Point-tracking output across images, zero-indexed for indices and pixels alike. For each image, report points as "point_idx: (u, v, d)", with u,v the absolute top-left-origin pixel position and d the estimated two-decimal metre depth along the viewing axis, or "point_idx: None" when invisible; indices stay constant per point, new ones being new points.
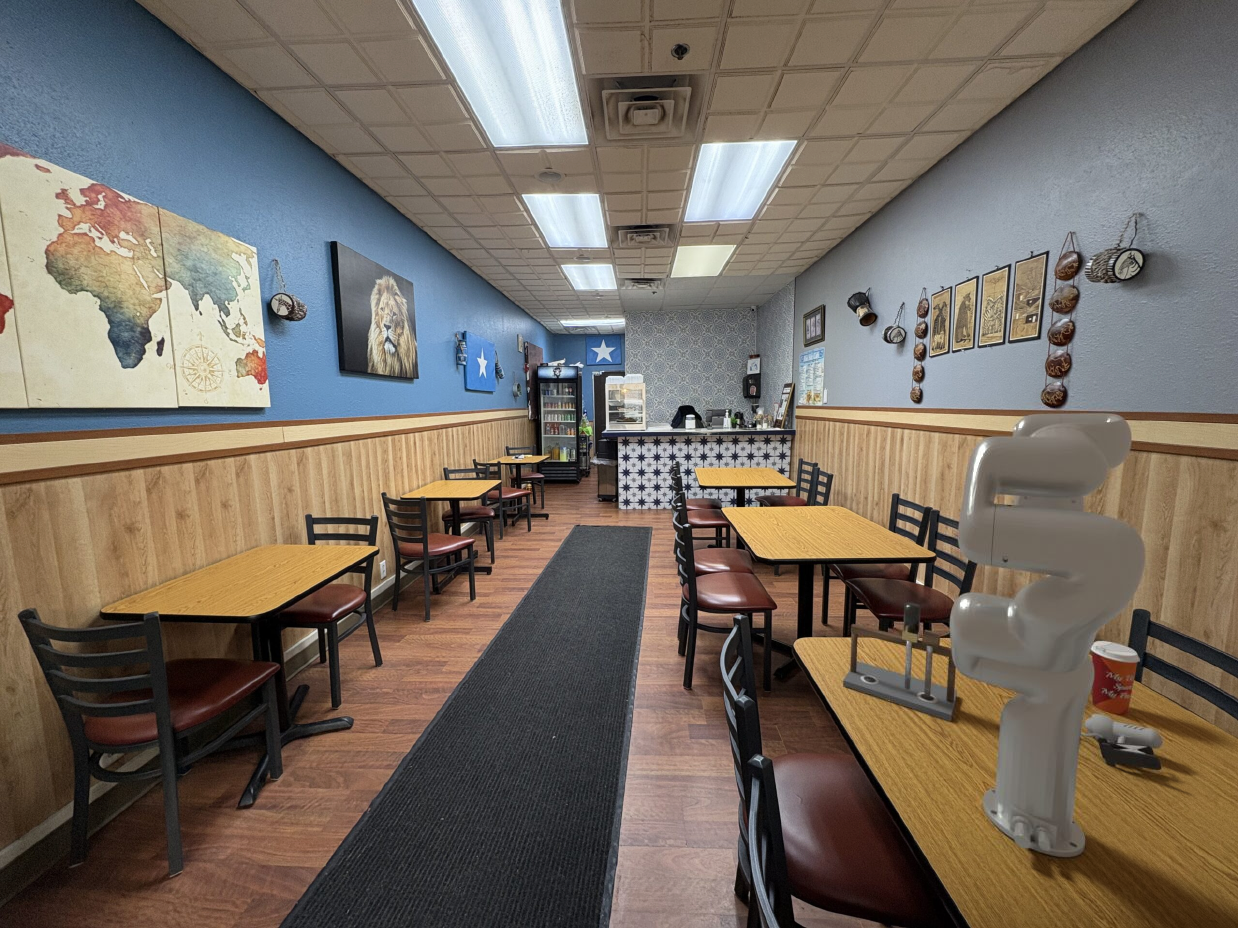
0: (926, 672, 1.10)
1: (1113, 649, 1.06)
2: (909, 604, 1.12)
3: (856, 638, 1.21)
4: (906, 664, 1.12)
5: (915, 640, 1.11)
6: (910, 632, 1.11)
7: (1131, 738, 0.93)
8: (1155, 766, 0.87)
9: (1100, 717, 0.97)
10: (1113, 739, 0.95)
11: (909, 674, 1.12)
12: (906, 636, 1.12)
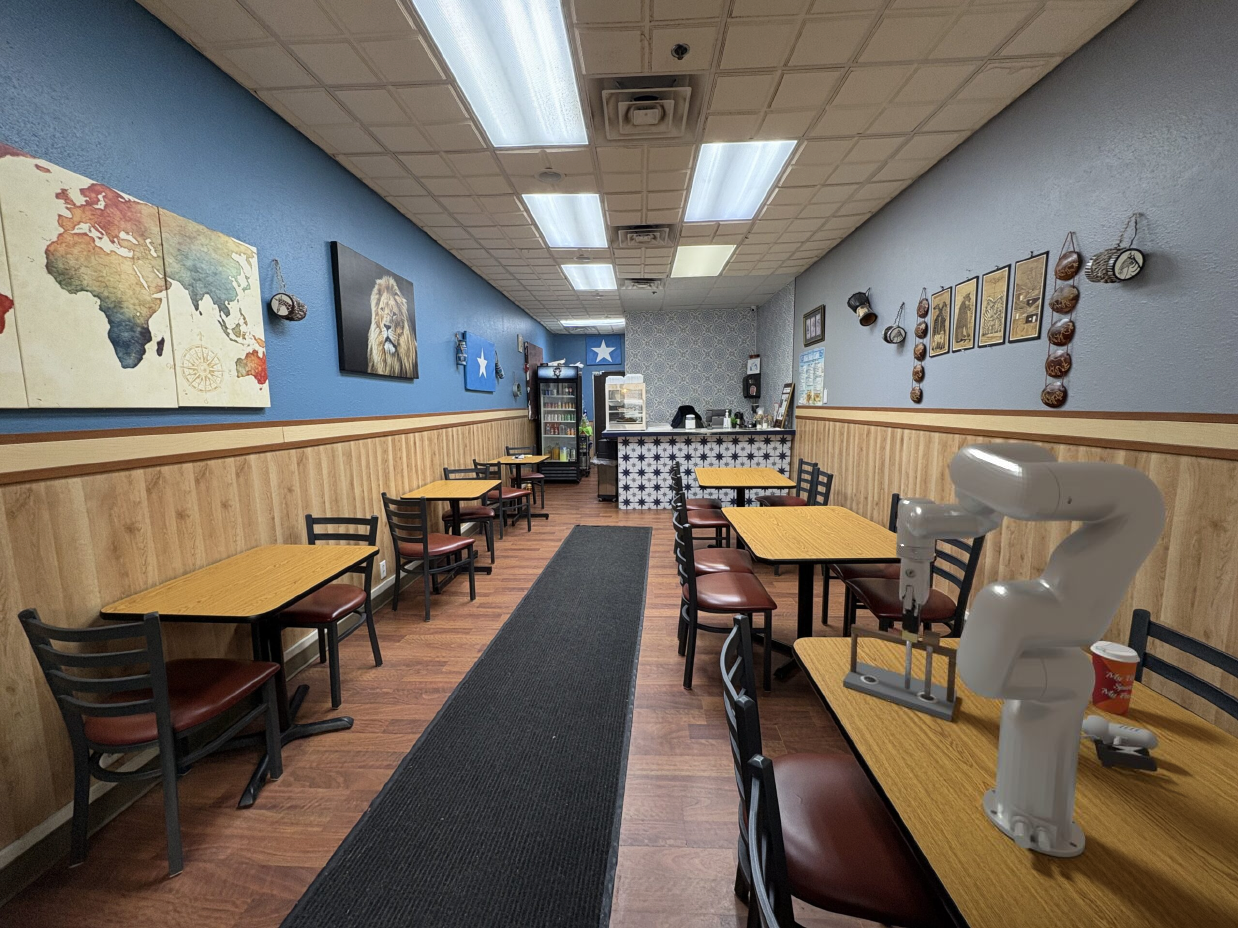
0: (926, 672, 1.10)
1: (1113, 649, 1.06)
2: None
3: (856, 638, 1.21)
4: (906, 664, 1.12)
5: (915, 640, 1.11)
6: (910, 632, 1.11)
7: (1127, 739, 0.93)
8: (1151, 767, 0.86)
9: (1096, 718, 0.97)
10: (1109, 740, 0.95)
11: (909, 674, 1.12)
12: (906, 636, 1.12)
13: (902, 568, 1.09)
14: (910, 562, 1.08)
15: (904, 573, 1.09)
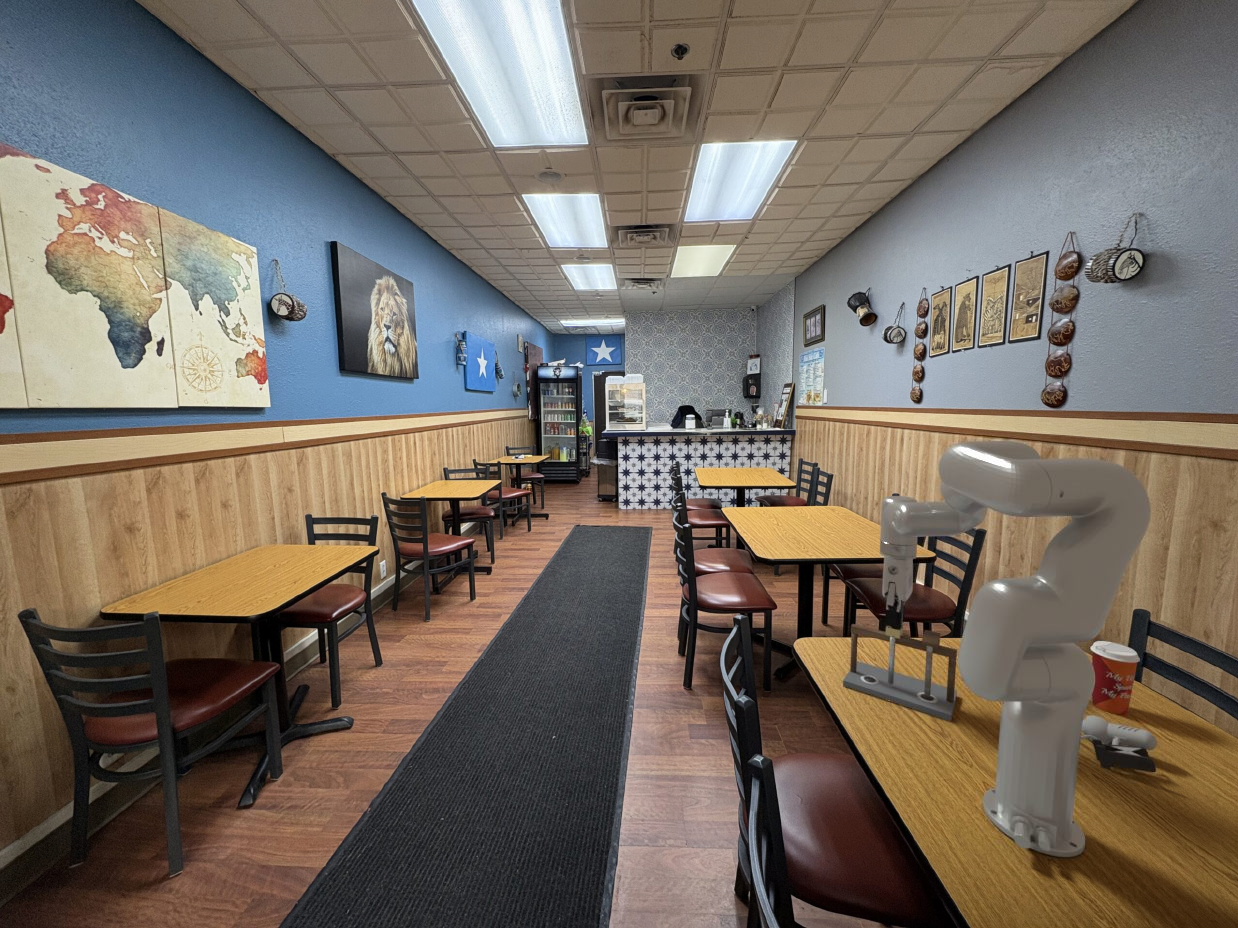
0: (926, 672, 1.10)
1: (1113, 649, 1.06)
2: None
3: (856, 638, 1.21)
4: (889, 659, 1.14)
5: (898, 636, 1.13)
6: (893, 628, 1.14)
7: (1126, 740, 0.93)
8: (1150, 768, 0.86)
9: (1095, 719, 0.97)
10: (1108, 741, 0.95)
11: (892, 669, 1.14)
12: (889, 632, 1.14)
13: (885, 565, 1.11)
14: (892, 559, 1.10)
15: (887, 570, 1.11)
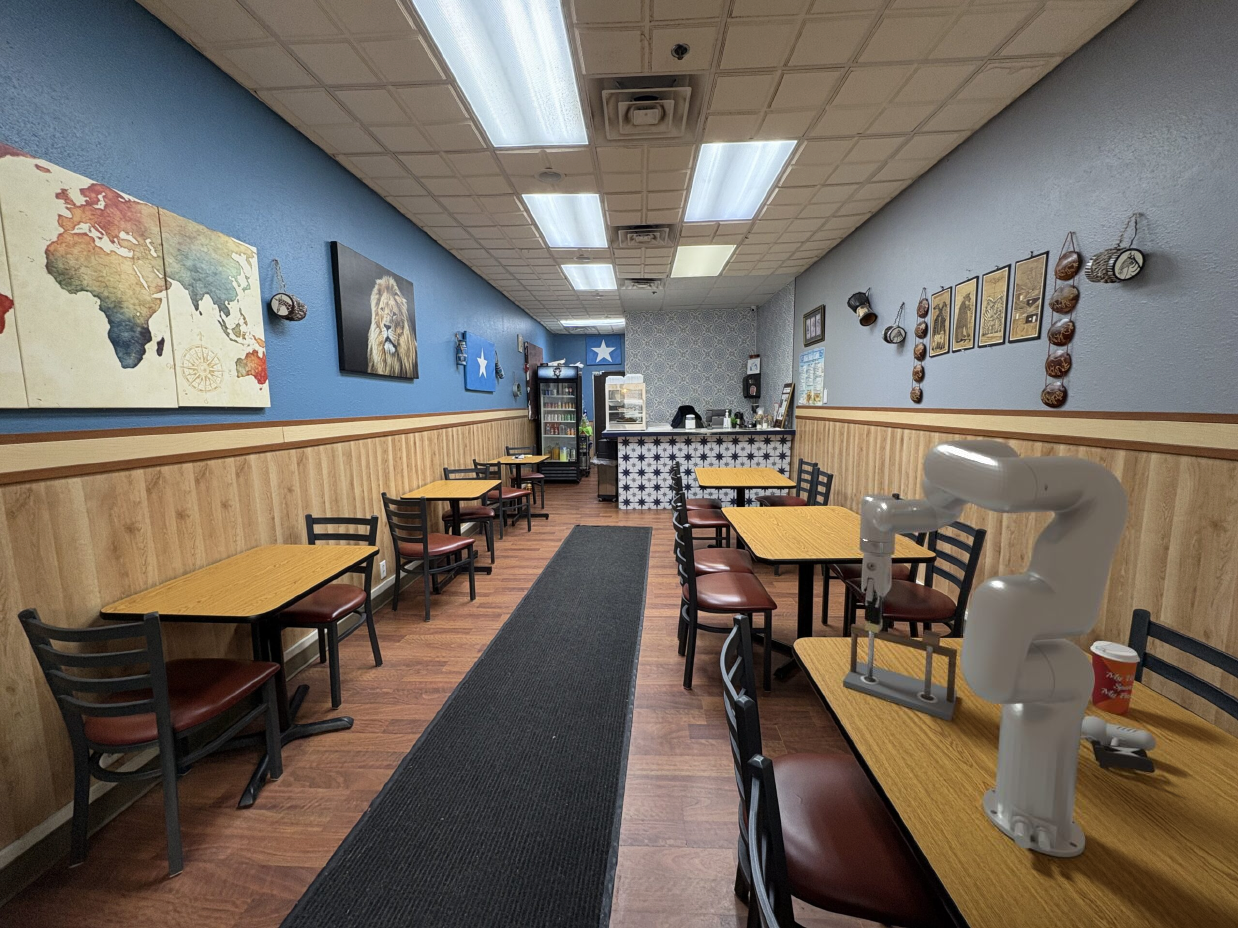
0: (926, 672, 1.10)
1: (1113, 649, 1.06)
2: None
3: (856, 638, 1.21)
4: (869, 654, 1.17)
5: (876, 630, 1.16)
6: (872, 623, 1.16)
7: (1124, 740, 0.92)
8: (1148, 769, 0.86)
9: (1094, 719, 0.97)
10: (1106, 741, 0.95)
11: (871, 663, 1.17)
12: (868, 627, 1.17)
13: (864, 562, 1.14)
14: (871, 556, 1.13)
15: (865, 566, 1.14)
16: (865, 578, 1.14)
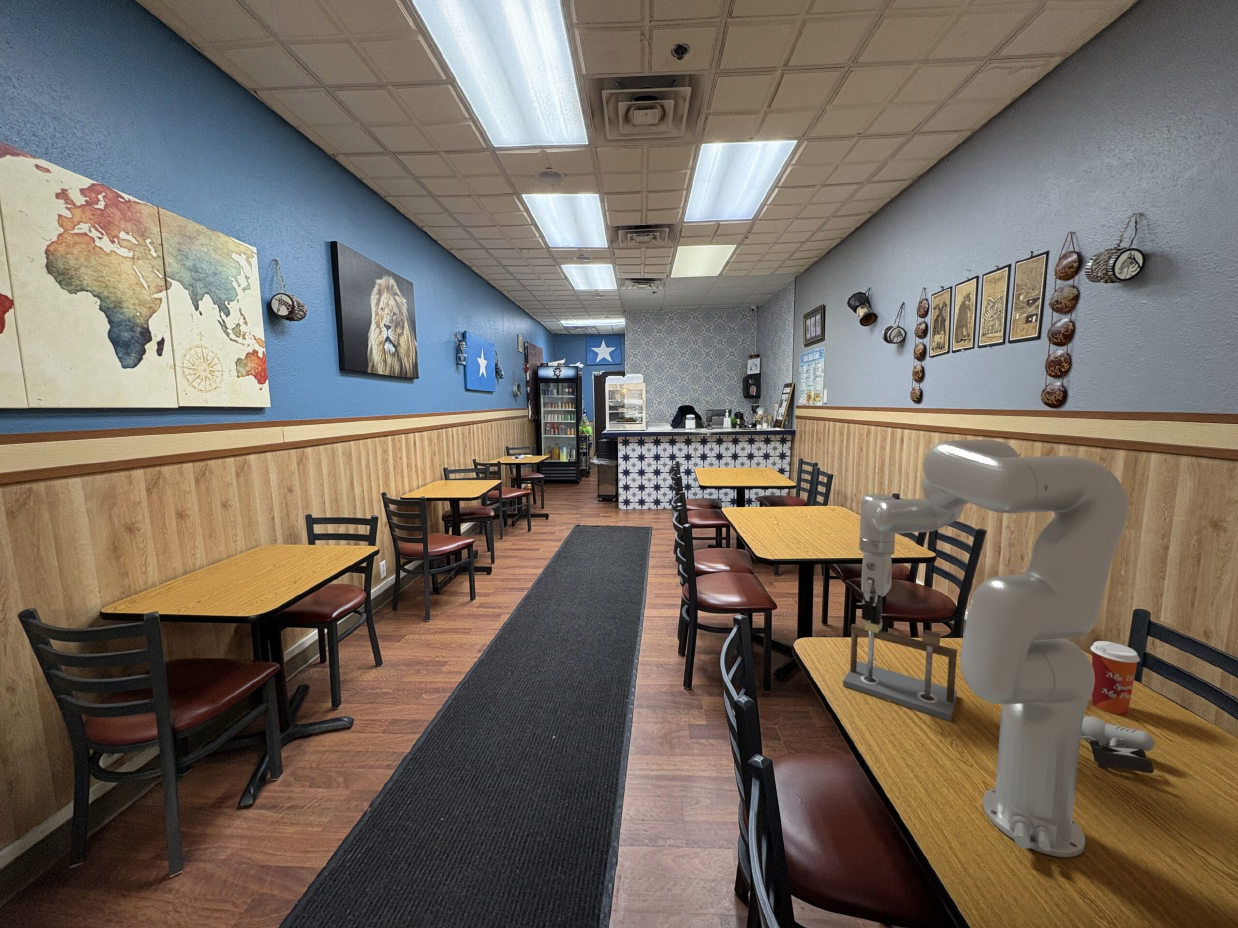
0: (926, 672, 1.10)
1: (1113, 649, 1.06)
2: None
3: (856, 638, 1.21)
4: (868, 654, 1.17)
5: (876, 630, 1.16)
6: (872, 623, 1.16)
7: (1123, 740, 0.92)
8: (1147, 769, 0.86)
9: (1092, 719, 0.96)
10: (1105, 741, 0.95)
11: (871, 663, 1.17)
12: (868, 627, 1.17)
13: (864, 561, 1.14)
14: (871, 555, 1.13)
15: (865, 566, 1.14)
16: (865, 578, 1.14)
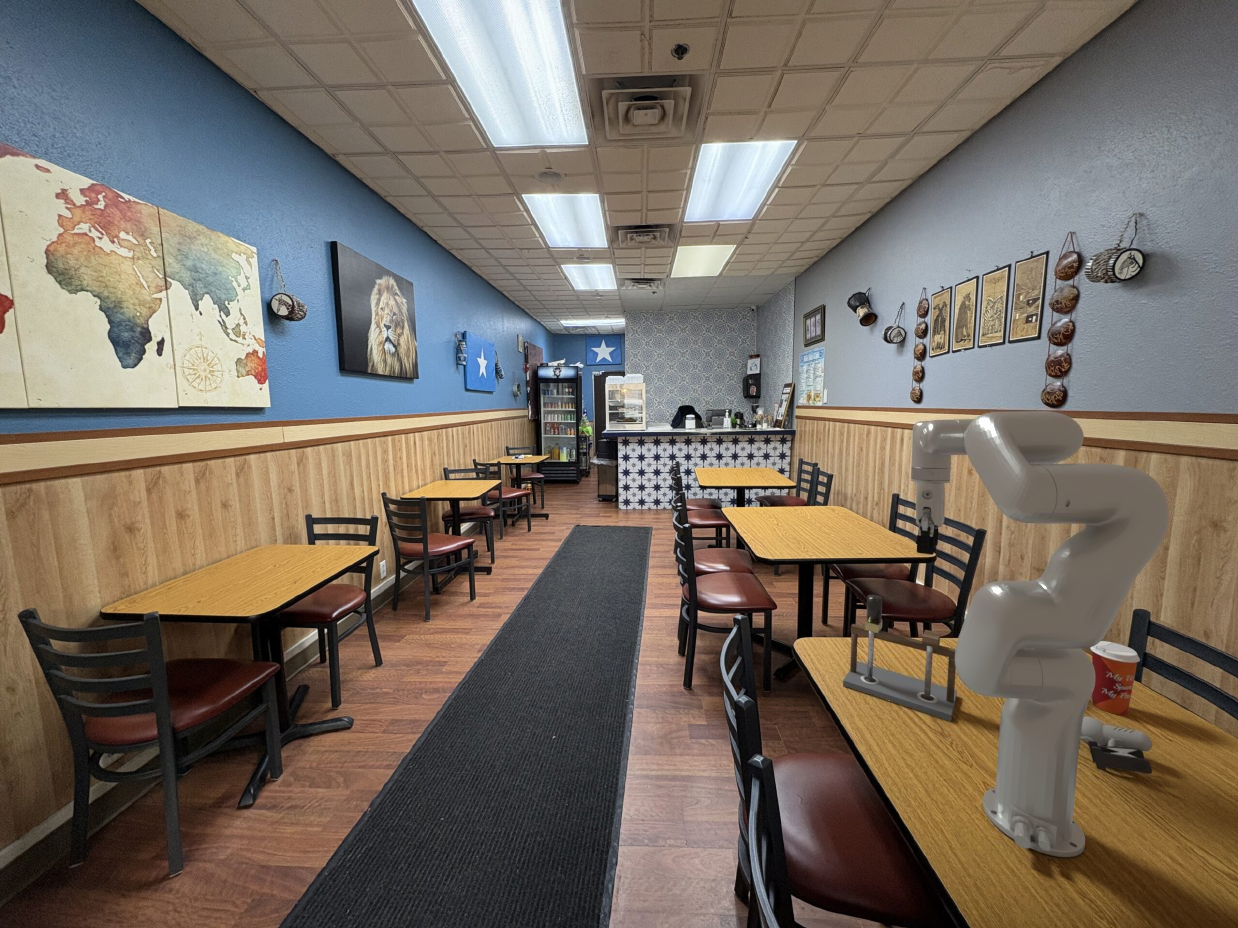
0: (926, 672, 1.10)
1: (1113, 649, 1.06)
2: (871, 596, 1.18)
3: (856, 638, 1.21)
4: (868, 654, 1.17)
5: (876, 630, 1.16)
6: (872, 623, 1.16)
7: (1121, 741, 0.92)
8: (1145, 770, 0.86)
9: (1090, 720, 0.96)
10: (1103, 742, 0.94)
11: (871, 663, 1.17)
12: (868, 627, 1.17)
13: (918, 491, 1.07)
14: (927, 484, 1.06)
15: (921, 495, 1.07)
16: (920, 508, 1.07)
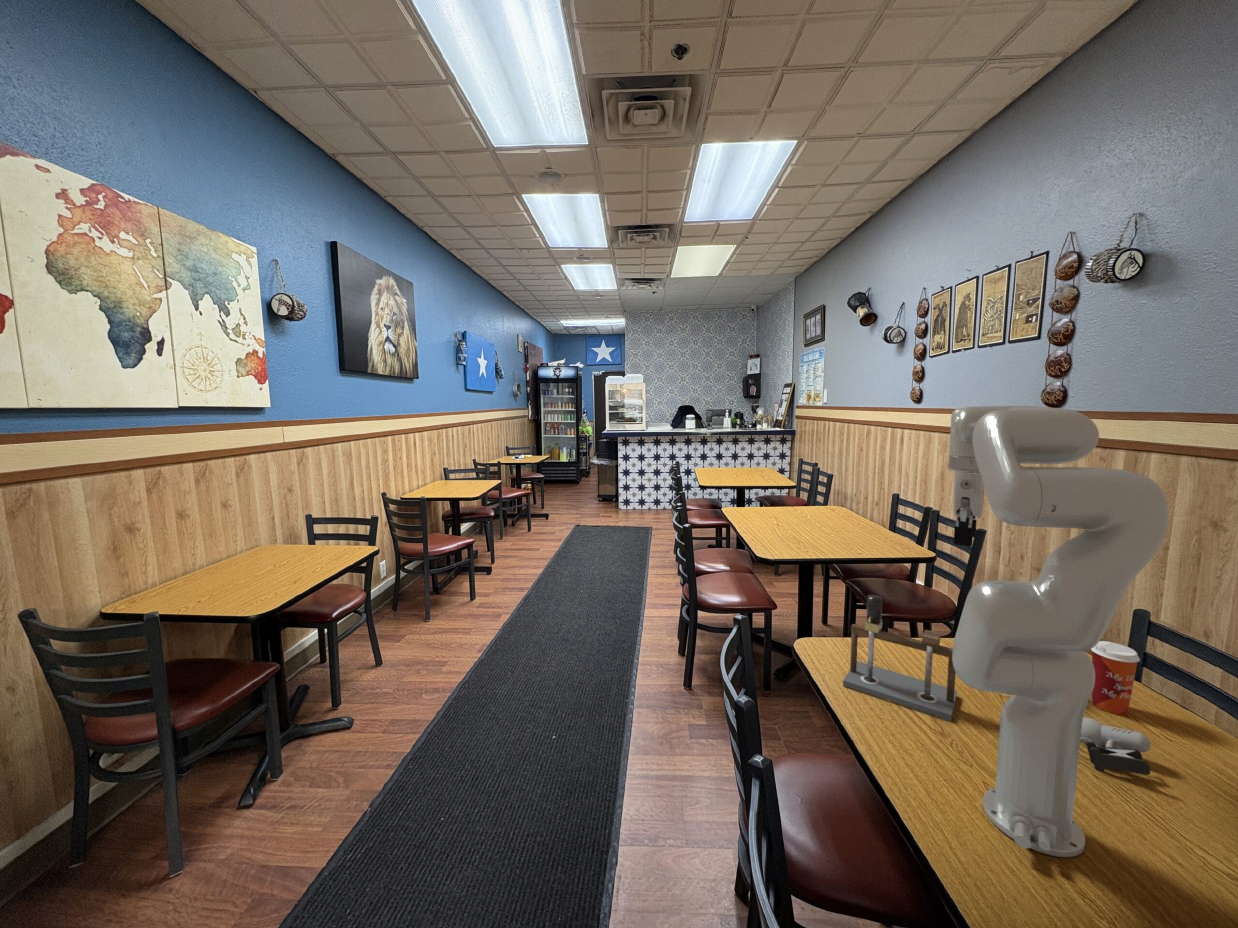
0: (926, 672, 1.10)
1: (1113, 649, 1.06)
2: (871, 596, 1.18)
3: (856, 638, 1.21)
4: (868, 654, 1.17)
5: (876, 630, 1.16)
6: (872, 623, 1.16)
7: (1119, 742, 0.92)
8: (1144, 771, 0.85)
9: (1088, 721, 0.96)
10: (1101, 743, 0.94)
11: (871, 663, 1.17)
12: (868, 627, 1.17)
13: (957, 480, 1.03)
14: (966, 473, 1.02)
15: (959, 485, 1.03)
16: (958, 498, 1.03)
